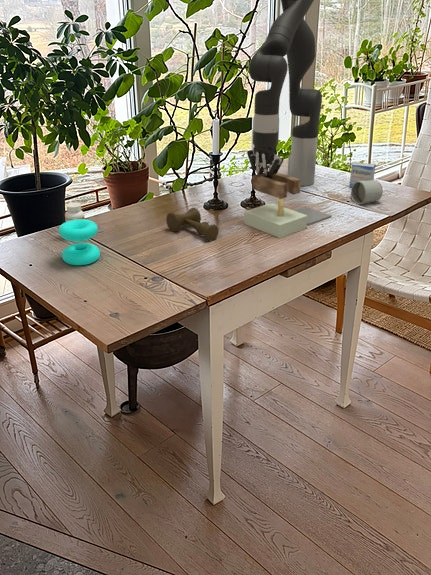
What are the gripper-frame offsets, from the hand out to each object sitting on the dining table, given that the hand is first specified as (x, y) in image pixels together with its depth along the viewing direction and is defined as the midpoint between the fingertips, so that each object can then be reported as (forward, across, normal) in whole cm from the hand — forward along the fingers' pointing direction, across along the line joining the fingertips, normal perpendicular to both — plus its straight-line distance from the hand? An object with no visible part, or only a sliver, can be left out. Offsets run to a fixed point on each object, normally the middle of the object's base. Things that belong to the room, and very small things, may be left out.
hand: (263, 186), depth 178 cm
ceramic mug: (+12, +9, +39) cm, 42 cm away
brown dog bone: (+11, -8, -22) cm, 26 cm away
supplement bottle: (+11, -26, -50) cm, 58 cm away
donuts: (+11, -11, -57) cm, 59 cm away
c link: (0, +5, 0) cm, 5 cm away
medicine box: (+12, 0, +51) cm, 52 cm away
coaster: (+11, +7, +13) cm, 19 cm away
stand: (+11, +6, 0) cm, 13 cm away
